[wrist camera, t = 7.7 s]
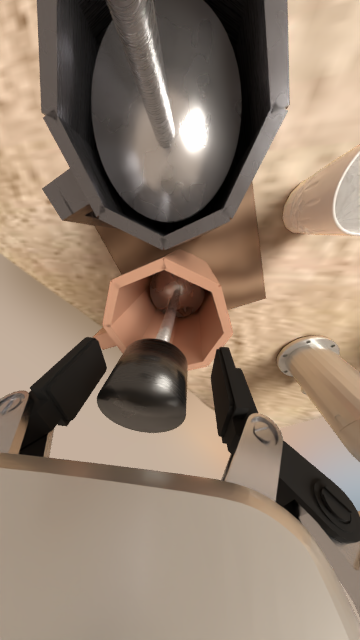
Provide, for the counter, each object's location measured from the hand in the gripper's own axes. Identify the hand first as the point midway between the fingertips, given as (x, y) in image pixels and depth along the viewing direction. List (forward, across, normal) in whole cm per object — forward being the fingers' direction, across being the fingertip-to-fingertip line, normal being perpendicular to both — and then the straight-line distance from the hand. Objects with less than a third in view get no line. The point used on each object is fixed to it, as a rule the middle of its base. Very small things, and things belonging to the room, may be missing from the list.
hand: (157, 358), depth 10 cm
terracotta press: (+19, +2, +1) cm, 19 cm away
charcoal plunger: (+6, 0, -13) cm, 14 cm away
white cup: (+21, -19, -12) cm, 31 cm away
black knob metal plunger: (+15, 0, 0) cm, 15 cm away
